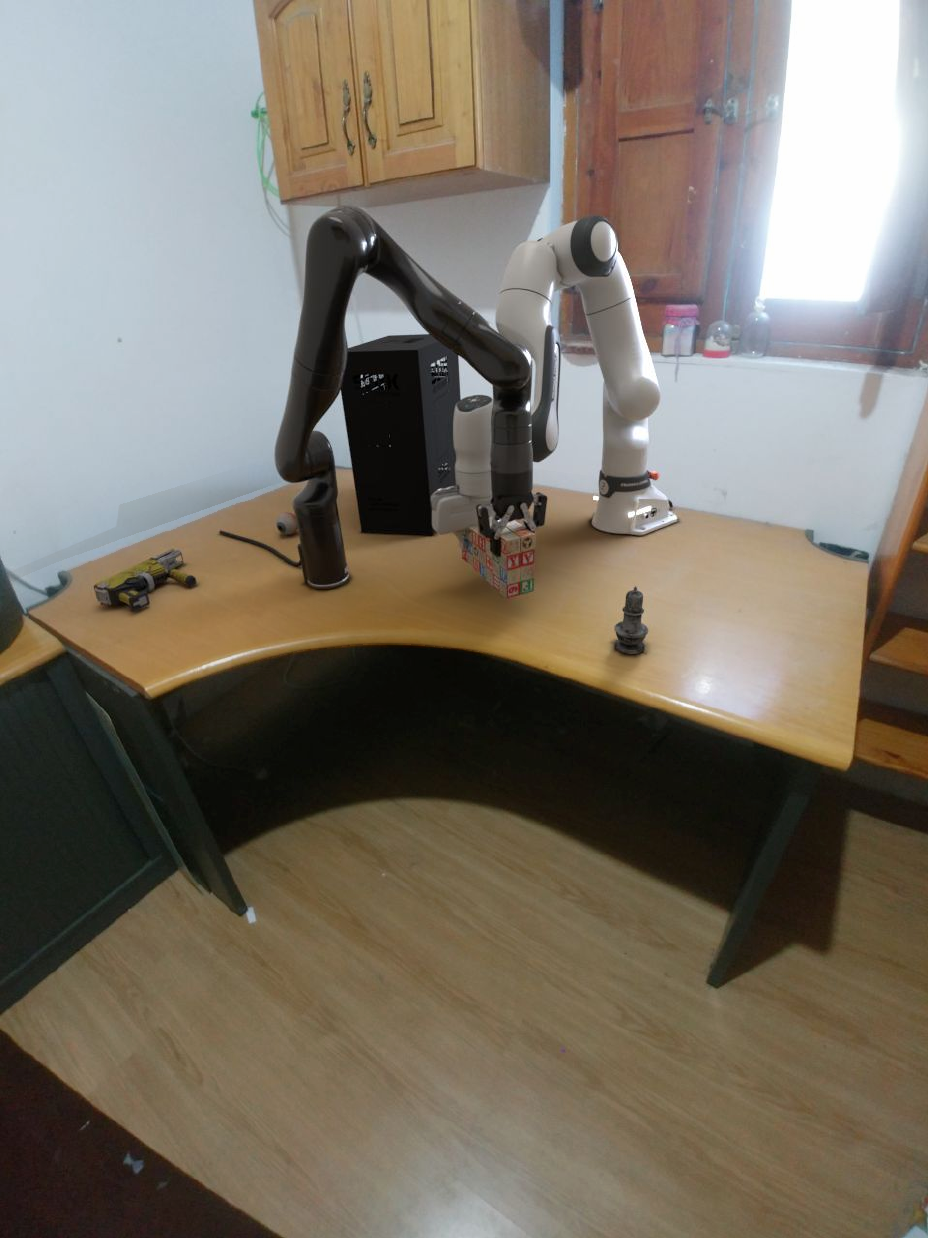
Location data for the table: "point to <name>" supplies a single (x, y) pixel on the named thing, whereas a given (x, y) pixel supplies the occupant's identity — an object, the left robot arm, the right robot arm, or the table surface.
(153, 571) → the toy gun
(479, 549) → the stack of blocks
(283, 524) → the eyeball
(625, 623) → the grey chess piece
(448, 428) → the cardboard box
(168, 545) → the table surface
